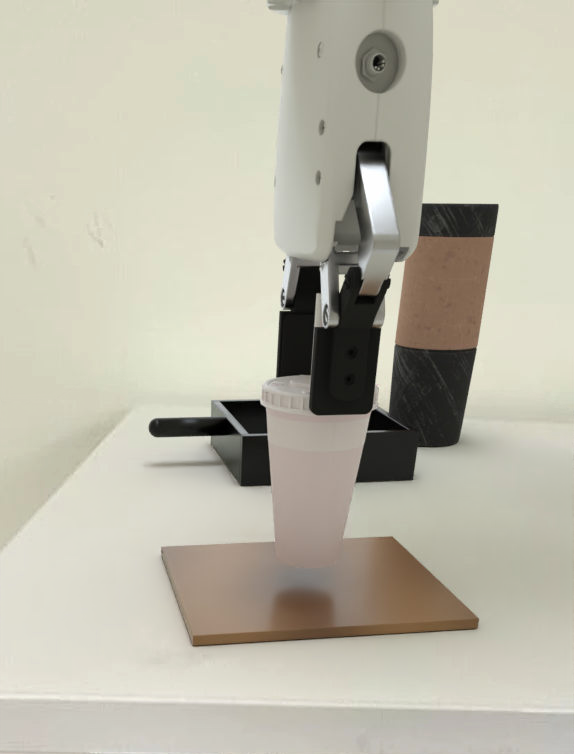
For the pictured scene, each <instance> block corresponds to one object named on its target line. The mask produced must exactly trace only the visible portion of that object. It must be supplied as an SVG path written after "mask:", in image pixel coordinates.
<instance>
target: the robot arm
mask: <svg viewBox="0 0 574 754" xmlns="http://www.w3.org/2000/svg"><path fill="white" fill-rule="evenodd" d="M439 2H440V0H266V7H267V8H268V9H269V10H270V11H272V12H274V13H276V14H279V15H282V16H286V26H285V34H284V35H285V36H284V47H283V56H282V64H281V68H280V74H281V80H280V91H279V104H278V118H277V131H276V132H277V133H276V146H275V147H276V148H275V165H274V183H273V186H274V187H273V237H274V239H273V240H274V242H275V245H276V246H277V247H278V249H280V251H281V252H282V253H283V254H285V258H284V259H283V261H282V263H283V265H282V272H283V273H282V274H283V275H282V281H281V287H280V295H279V303H280V309H281V310H279V313H278V333H277V351H276V370H275V372H276V374H275V378H278V377H285V376H297V375H311V384H310V398H309V409H310V411H311V412H312V413H313V414H315V415H318V416H322V415H363V414H368V413H369V412H370V411H371V410H372V408H373V400H374V391H375V385H376V383H377V373H378V364H379V363H378V362H379V355H380V354H379V353H380V352H379V351H380V344H381V334H382V327H383V326H384V323H385V318H386V294H387V292H388V290H389V288H390V287H391V283H392V278H390V276H391V272H392V269H393V267H394V264H395V263H403V262H405V260H406V259H407V258H408V257H409V256H410V255H411V254H412V253H413V252H414V250H415V249H416V247H417V244H418V238H419V231H420V221H421V211H422V203H423V200H424V187H425V178H426V165H427V153H428V140H429V129H430V116H431V115H430V114H431V101H432V100H431V99H432V84H433V61H434V8H436V7H437V6H438V5H439V4H440V3H439ZM340 275H341V276H342V275H344V276H343V278H344V280H343V282H342V285H341V288H340ZM317 293H321V301H322V324H323V327H315V328H314V323H315V308H316V294H317ZM313 337H314V342H313ZM312 351H313V356H312ZM311 365H312V370H311Z"/></svg>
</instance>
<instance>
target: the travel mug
mask: <svg viewBox="0 0 574 754" xmlns="http://www.w3.org/2000/svg"><path fill="white" fill-rule="evenodd" d="M499 209H500V205H499V203H452V202H451V203H450V202H449V203H442V202H441V203H439V202H438V203H434V202H433V203H432V202H431V203H430V202H429V203H427V202H422V211H421V221H420V231H419V238H418V244H417V247H416V249H415V250H414V252H413V253H412V254H411V255H410V256H409V257H408V258H407V259H406V260H405V261H404V265H403V266H404V267H403V275H402V284H401V289H400V299H399V307H398V315H397V322H396V330H395V339H394V349H393V359H392V371H391V383H390V392H389V393H390V394H389V406H388V412H389V413H390V414H392V415H394V416H395V417H397V418H398V419H400V420H402V421H403V422H405V423H407V424H408V425H410V426H412V427H413V428H415V429H417V430H418V431H420V434H419V441H418V447H427V448H428V447H429V448H430V447H434V448H435V447H436V448H437V447H446V446H452V445H455V444H457V443H458V442H459V441H460V437H461V433H462V427H463V423H464V419H465V412H466V408H467V402H468V398H469V392H470V386H471V382H472V376H473V371H474V366H475V362H476V361H475V360H476V356H477V350H478V348H477V347H478V346H479V339H480V333H481V325H482V319H483V313H484V312H483V311H484V307H485V300H486V295H487V294H486V293H487V287H488V281H489V275H490V267H491V261H492V255H493V248H494V241H495V235H496V229H497V221H498V216H499Z"/></svg>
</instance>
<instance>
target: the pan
mask: <svg viewBox="0 0 574 754" xmlns="http://www.w3.org/2000/svg"><path fill="white" fill-rule="evenodd" d="M260 399H261V398H246V399H244V398H243V399H239V398H237V399H211V401H210V416H187V417H186V416H184V417H181V416H179V417H155V418H153V419H151V420H150V421H149V423H148V428H147V429H148V432H149V434H150V435H151V436H152V437H154V438H157V439H158V438H181V437H182V438H187V437H189V438H190V437H191V438H193V437H210V444H211V446H212V447H213V449H214V450H215V451H216V453H217V454H218V456H219V458H220V459H221V460H222V461H223V463H224V464H225V466H226V467H227V468H228V470H229V471H230V473H231V474H232V475H233V477H234V478H235V480H236V481H237V482H238V484H239V485H240V486H241V487H247V486H249V487H250V486H271V474H270V459H269V445H268V432H267V413H266V407H264V406H263V405H261V402H260ZM419 434H420V431H418V430H417V429H415V428H413V427H412V426H410V425H408V424H407V423H405V422H403V421H402V420H400V419H398V418H397V417H395V416H394V415H392V414H390V413H389V411H387V410H385V409H383V408H382V407H381V406H380V405H378V407H377V408H376V409H375V410H372V411H371V414H370V418H369V423H368V428H367V433H366V438H365V443H364V446H363V450H362V455H361V459H360V464H359V468H358V473H357V477H356V482H355V483H357V482H359V483H360V482H385V481H386V482H387V481H388V482H390V481H412V480H414V476H415V468H416V463H417V455H418V449H419V448H418V447H419V446H418V441H419Z"/></svg>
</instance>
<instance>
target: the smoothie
mask: <svg viewBox="0 0 574 754" xmlns="http://www.w3.org/2000/svg"><path fill="white" fill-rule="evenodd" d="M315 327H323V324H322V301H321V293H317V294H316V308H315V323H314V328H315ZM313 342H314V337H313ZM312 356H313V351H312ZM311 370H312V365H311ZM310 384H311V375H297V376H285V377H278V378H276V377H273V378H269V379H267V380H265V381H264V382H262V384H261V398H259V399H260V402H261V405H263V406H264V407H266V413H267V432H268V445H269V459H270V474H271V485H270V488H271V501H272V502H271V503H272V516H273V531H274V542H275V547H276V558H277V559H278V560H279V561H280V562H282V563H284V564H286V565H289V566H293V567H299V568H322V567H327V566H331V565H333V564H335V563H336V562H337V561H338V557H339V553H340V548H341V544H342V540H343V538H344V535H345V530H346V525H347V521H348V518H349V517H348V516H349V514H350V513H349V512H350V508H351V504H352V499H353V493H354V490H355V486H356V483H357V482H356V477H357V473H358V468H359V464H360V459H361V455H362V450H363V446H364V443H365V438H366V433H367V428H368V423H369V418H370V414H371V411H372V410H375V409H376V408H377V407H378V406H380V405H379V404H380V403H378V400H379V391H380V388H379V386H378V385H377V384H375V391H374V400H373V408H372V410H371V411H370V412H369V413H368V414H363V415H322V416H318V415H315V414H313V413H312V412H311V411H310V409H309V398H310Z"/></svg>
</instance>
